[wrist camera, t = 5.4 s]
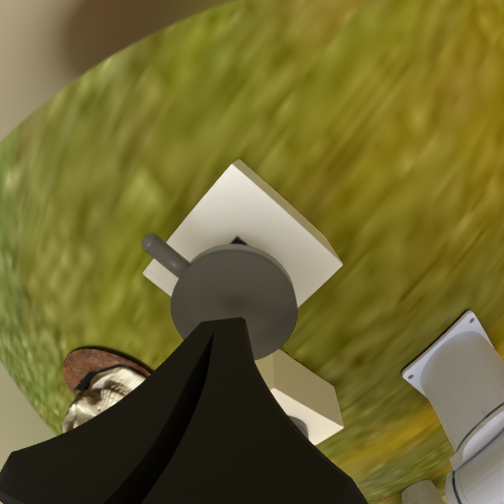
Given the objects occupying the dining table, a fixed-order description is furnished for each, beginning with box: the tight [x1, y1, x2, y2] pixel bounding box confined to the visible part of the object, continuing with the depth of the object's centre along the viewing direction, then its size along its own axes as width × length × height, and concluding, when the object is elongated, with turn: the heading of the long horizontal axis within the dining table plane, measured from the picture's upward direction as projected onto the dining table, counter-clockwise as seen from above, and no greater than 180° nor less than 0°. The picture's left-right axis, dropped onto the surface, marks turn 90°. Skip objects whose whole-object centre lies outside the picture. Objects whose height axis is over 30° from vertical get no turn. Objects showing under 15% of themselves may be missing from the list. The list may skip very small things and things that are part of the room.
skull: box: [62, 348, 151, 433], centre depth 23 cm, size 12×10×10 cm
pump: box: [142, 234, 298, 361], centre depth 13 cm, size 6×5×4 cm
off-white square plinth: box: [255, 349, 344, 445], centre depth 21 cm, size 7×7×4 cm
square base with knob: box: [142, 159, 343, 308], centre depth 17 cm, size 7×7×4 cm
